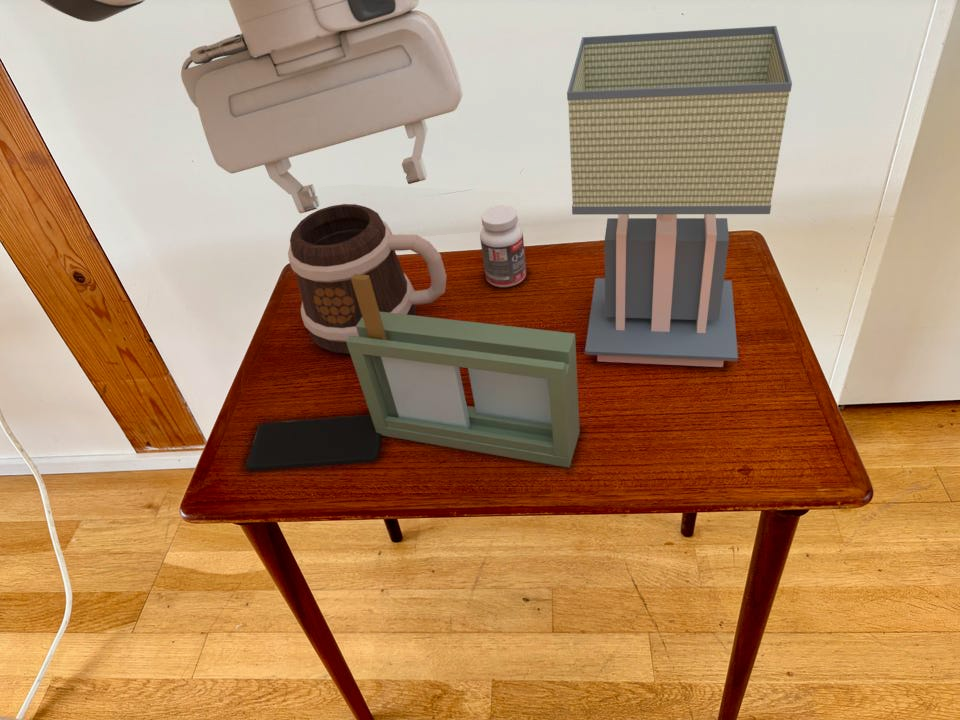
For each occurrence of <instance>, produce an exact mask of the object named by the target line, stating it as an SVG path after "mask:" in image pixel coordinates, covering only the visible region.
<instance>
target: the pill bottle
mask: <svg viewBox="0 0 960 720" xmlns="http://www.w3.org/2000/svg"><path fill="white" fill-rule="evenodd" d="M480 217H481V225H482V227H483V228H482V229H481V230H480V234H479V238H480V239H479V240H480V246H481V252H482V253H481V254H482V261H483V268H484V274H485V279H486V281H487V282H488V284H490V285H491V286H493V287H498V288H510V287H514V286H517V285H519V284H520V283H521V282H522V281H524V280H525V278H526V276H527V263H526V254H525V253H526V252H525V244H524V235H523V233H524V232H523V229H522V227H521V226H520V224H518V222H519V217H518V212H517V210H516V208H514V207H513V206H510V205H506V204H499V205H493V206H490V207H489V208H487V209H485V210H484V211H483V212H482V213H481V216H480Z"/></svg>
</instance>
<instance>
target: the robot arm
mask: <svg viewBox="0 0 960 720" xmlns="http://www.w3.org/2000/svg"><path fill="white" fill-rule="evenodd" d="M40 1H41V2H42V3H44V4H45V5H47V6H49V7H51V8H52V9H54V10H56V11H58V12H60V13H63V14H64V15H67V16H69V17H72V18H74V19H77V20H80V21H83V22H89V23H90V22H91V23H96V22H101V21H105V20H106V19H109V18H111V17H113V16H116V15H117V14H119V13H122V12H124V11H127V10H130V9H131V8H133V7H135V6H138V5H141V4H142V3H143V2H145V1H146V0H40ZM228 2H229V5H230V7H231V9H232V13H233V16H234V18H235V20H236V23H237V25H238V28H239V30H240V32H241V33H239V34H236V35H233V36H230V37H226V38H224V39H222V40H220V41H218V42H215V43H213V44H209V45H201V46H198V47H195V48H194V49H192V50H191V51H190V52H189V55H190V56H188V57H187V58H186V59H185V60H184V62H183V63H182V65H181V71H180V77H181V81H182V84H183V86H184V89H185V90H186V93H187V95H188V97H189V99H190V101H191V103H192V104H193V105H194V107H196V108H197V111H198V115H199V118H200V122H201V126H202V129H203V132H204V135H205V139H206V141H207V144H208V147H209V150H210V153H211V154H212V158H213V160H214V162H215V163H216V165H217V166H218V167H220V168H221V169H223V170H224V171H226V172H227V173H229V174H236V173H239V172H243V171H246V170H247V171H248V170H251V169H254V168H257V167H258V168H259V167H261V166H264V167H265V169H266V172H267V174H268V177H269V179H270V180H272V181H273V182H274V183H275V184H276V185H277V186H279V187H280V188H281V189H282V190H284V191H285V193H287V194H288V195H291V198H292V200H293V202H294V205H295V207H296V210H297V212H298V213H299V214H305V213H307V212H308V213H309V212H312V211H314V210H318V208H319V206H320V199H319V197H318V196H317V195H316V189H315V187H314V185H313V183H312V184H308V185H303V184H302V183H301V182H300V181H299V180H298V179H297V178H296V177H294V176H293V175H292V174H291V173H290V171H289V170H290V169H291V167H292V163H291V161H290V158H293V157H296V156H299V155H303V154H304V155H305V154H307V153H311V152H314V151H319V150H321V149H324V148H328V147H332V146H335V145H339V144H343V143H346V142H349V141H354V140H357V139H360V138H363V137H367V136H370V135H374V134H377V133H382V132H385V131H388V130H392V129H396V128H399V127H403V126H404V129H405V133H406V135H407V139H409V140H410V139H414V138H415V140H414V145H413V150H412V154H411V156H410V157H406V158H403V160H402V163H401V167H402V170H403V173H404V174H406V176H405V180H406V182H407V184H408V185H411V184H415V183H419V182H422V181H426V180H427V170H426V167H425V164H424V160H423V158H422V156H423V151H424V146H425V142H426V138H427V132H428V127H427V123H426V120H427V119H431V118H436V117H437V116H438V117H439V116H441V115H445V114H449V113H452V112H454V111H456V110H457V109H458V107H459V105H460V103H461V101H462V99H463V95H464V93H463V87H462V84H461V80H460V76H459V74H458V71H457V67H456V65H455V62H454V59H453V56H452V54H451V52H450V51H451V50H450V49H449V47H448V44H447V42H446V39H445V37H444V35H443V33H442V31H441V29H440V28H439V26H438V24H437V23H436V22H435V20H434V19H433V18H432V17H431V16H430V15H429V14H427V13H425V12H424V11H421V10H414V9H415V8H417V7H418V6H419V4H420V0H228ZM192 63H193V64H194V66H191V67H190V65H191V64H192ZM0 720H24V719H21V718H17V717H9V716H1V715H0Z"/></svg>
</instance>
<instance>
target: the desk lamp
mask: <svg viewBox="0 0 960 720" xmlns="http://www.w3.org/2000/svg"><path fill="white" fill-rule="evenodd" d="M571 73H572V74H571V77H570V80H569V85H568V88H567V91H566V100H567V104H568V127H569V148H570V149H569V150H570V173H571V174H570V175H571V176H570V177H571V197H572V198H571V199H572V200H571V201H572V205H571V212H572V213H571V214H572V215H575V216H576V215H578V216H579V215H582V216H583V215H585V216H586V215H587V216H588V215H617V217H616V218H615V217H613V218H612V217H610V218H609V217H608V218H607V219H606V227H605V235H604V277H603V278H601V277H600V278H598V277H595V278H594V285H593V292H592V299H591V306H590V313H589V321H588V327H587V335H586V340H585V348H584V355H586V356H597V357H596V361H597V362H603V363H604V362H605V363H627V364H646V365H647V364H648V365H666V366H667V365H670V366H689V367H690V366H691V367H692V366H693V367H711V368H713V367H714V368H715V367H716V368H723V367H724V362H727V361H728V362H738V360H739V354H738V340H737V330H736V318H735V317H736V316H735V306H734V305H735V303H734V295H733V283H732V282H733V281H732V280H725V275H726V268H727V261H728V260H727V258H728V252H729V244H730V235H729V226H728V225H729V224H728V218H727V217H724V218H723V217H716V215H770V214H771V210H772V198H773V193H774V186H775V180H776V175H777V168H778V163H779V157H780V152H781V145H782V139H783V134H784V128H785V123H786V115H787V109H788V104H789V98H790V92H792V86H793V81H792V78H791V74H790V70H789V67H788V63H787V60H786V56H785V52H784V48H783V45H782V41H781V38H780V34H779V31H778V27H777V25H766V26H765V25H764V26H748V27H732V28H716V29H715V28H714V29H698V30H684V31H683V30H681V31H665V32H664V31H663V32H648V33H633V34H631V33H629V34H614V35H613V34H611V35H598V36H582V37H581V40H580V45H579V48H578V51H577V55H576V58H575V62H574V66H573V70H572V72H571ZM630 215H656V217H651V218H650V217H647V218H645V217H643V218H642V217H637V218H635V217H634V218H633V217H632V218H631V217H630ZM677 215H703V218H702V217H700V218H699V217H690V218H689V217H688V218H687V217H685V218H684V217H681V218H680V217H678V218H677Z"/></svg>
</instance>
